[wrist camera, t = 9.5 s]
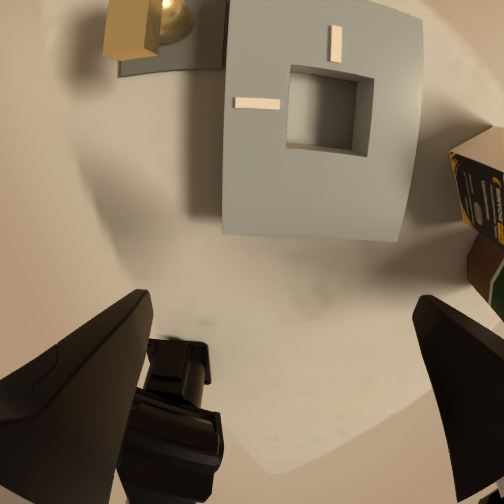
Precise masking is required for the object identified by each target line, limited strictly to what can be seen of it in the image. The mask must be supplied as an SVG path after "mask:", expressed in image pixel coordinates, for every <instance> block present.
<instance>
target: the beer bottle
mask: <svg viewBox="0 0 504 504" xmlns="http://www.w3.org/2000/svg"><path fill="white" fill-rule="evenodd" d="M467 277H468V281H469V282H470V283H471V284H472V285H473V287H474V288H475V289H476V291H477V292H478V293H479V294H480V295H481V296H482V297H483V298H484V299H485V301H486V302H487V303H488V304H489V305H490V306H491V308H492V309H493V310H494V311H495V312H496V313H497V315H498V316H499V317H500V318H501V320H502V321H503V322H504V252H503V251H502V250H500V249H499V248H498V247H497V246H495V245H494V244H493V243H492V242H490V241H489V240H488V239H487V238H485V237H484V236H483V235H481V234H480V233H479V235H478V237H477V239H476V241H475V243H474V245H473V247H472V249H471V251H470V253H469V254H468V256H467Z"/></svg>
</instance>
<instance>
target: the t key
mask: <svg viewBox="0 0 504 504" xmlns="http://www.w3.org/2000/svg"><path fill="white" fill-rule="evenodd" d="M194 23H195V19H194V15H193V13H192V11H191V10H190V8H189V7H188V5H187V4H186V2H185V1H184V0H109V6H108V12H107V19H106V26H105V34H104V44H103V55H102V56H104V57H108V58H112V59H115V60H119V61H124V60H130V59H137V58H143V57H151V56H158V51H159V44H162V45H171V44H175V43H178V42H180V41H182V40H183V39H185V38H186V37H187V36H188V35H189V34H190V33H191V31H192V29H193V27H194Z"/></svg>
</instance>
